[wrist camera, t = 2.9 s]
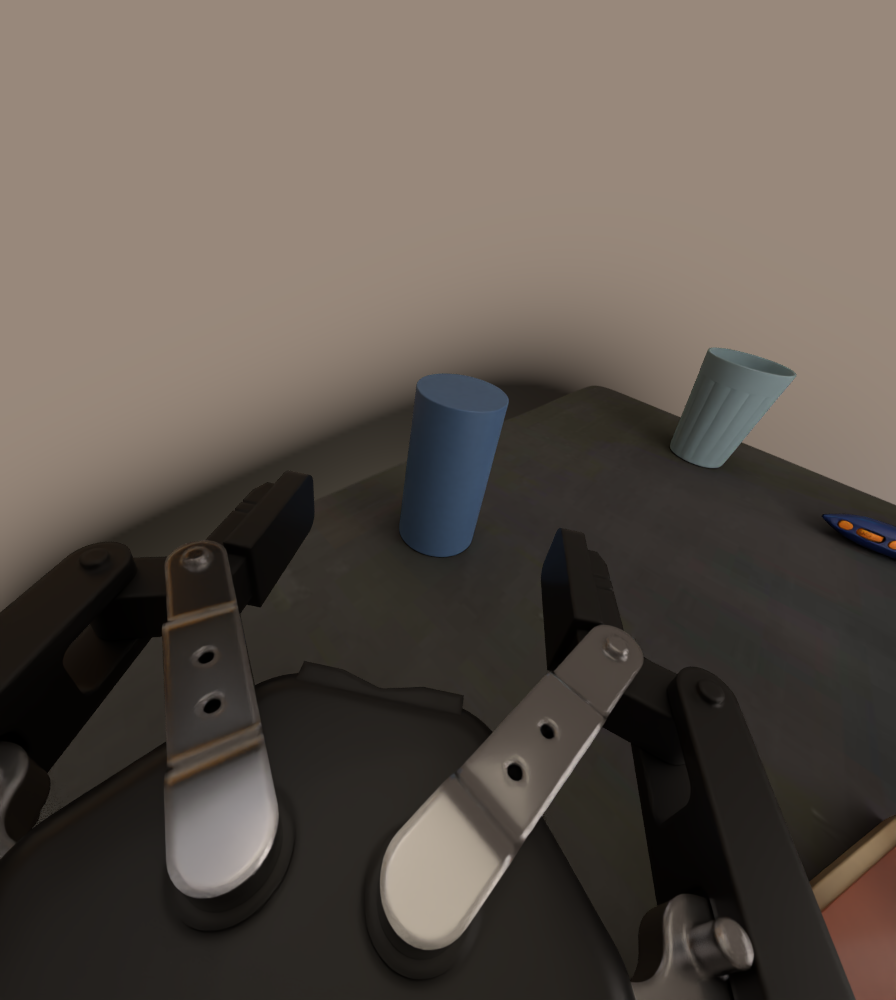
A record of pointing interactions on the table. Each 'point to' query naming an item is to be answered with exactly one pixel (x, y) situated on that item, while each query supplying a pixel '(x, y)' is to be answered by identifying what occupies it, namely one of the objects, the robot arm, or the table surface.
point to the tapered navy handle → (865, 532)
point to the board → (864, 911)
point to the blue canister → (449, 461)
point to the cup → (726, 404)
